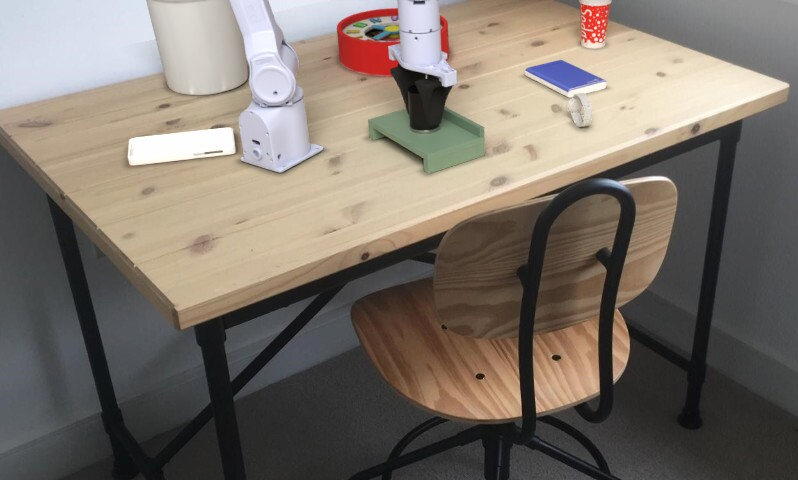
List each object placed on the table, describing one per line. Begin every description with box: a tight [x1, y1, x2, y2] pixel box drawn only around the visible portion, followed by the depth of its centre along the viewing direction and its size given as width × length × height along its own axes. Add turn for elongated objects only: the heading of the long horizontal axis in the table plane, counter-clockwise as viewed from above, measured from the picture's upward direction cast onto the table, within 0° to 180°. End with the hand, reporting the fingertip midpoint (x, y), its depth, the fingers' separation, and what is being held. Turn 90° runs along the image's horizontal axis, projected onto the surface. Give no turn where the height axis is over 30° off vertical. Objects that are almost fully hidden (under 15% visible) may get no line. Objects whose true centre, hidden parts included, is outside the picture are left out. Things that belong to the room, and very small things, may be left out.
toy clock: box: [336, 7, 450, 77], centre depth 175 cm, size 20×6×20 cm
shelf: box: [367, 105, 486, 175], centre depth 143 cm, size 10×16×4 cm, turn 38°
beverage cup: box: [578, 0, 612, 50], centre depth 178 cm, size 6×6×14 cm
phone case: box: [127, 126, 237, 166], centre depth 143 cm, size 7×1×15 cm
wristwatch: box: [566, 93, 593, 128], centre depth 149 cm, size 3×5×5 cm, turn 21°
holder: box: [408, 85, 441, 134], centre depth 141 cm, size 5×5×6 cm
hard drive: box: [524, 59, 607, 99], centre depth 166 cm, size 2×8×12 cm
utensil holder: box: [145, 0, 249, 96], centre depth 161 cm, size 15×15×18 cm
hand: (424, 119), depth 142 cm, fingers closed on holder, 4 cm apart
